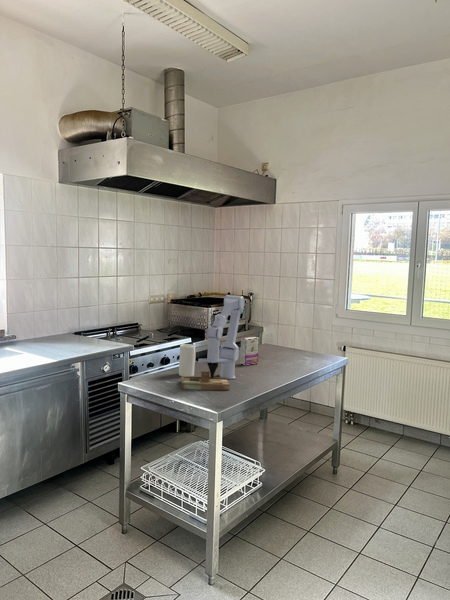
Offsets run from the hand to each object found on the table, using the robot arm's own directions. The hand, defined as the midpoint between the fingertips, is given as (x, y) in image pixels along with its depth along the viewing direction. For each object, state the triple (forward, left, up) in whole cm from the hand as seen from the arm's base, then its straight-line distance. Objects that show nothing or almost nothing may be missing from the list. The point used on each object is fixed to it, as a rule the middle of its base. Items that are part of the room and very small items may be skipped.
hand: (211, 377), depth 222 cm
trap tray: (+3, -4, -3) cm, 6 cm away
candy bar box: (-46, +27, -4) cm, 53 cm away
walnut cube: (0, -3, -2) cm, 4 cm away
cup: (-18, -12, -4) cm, 22 cm away
